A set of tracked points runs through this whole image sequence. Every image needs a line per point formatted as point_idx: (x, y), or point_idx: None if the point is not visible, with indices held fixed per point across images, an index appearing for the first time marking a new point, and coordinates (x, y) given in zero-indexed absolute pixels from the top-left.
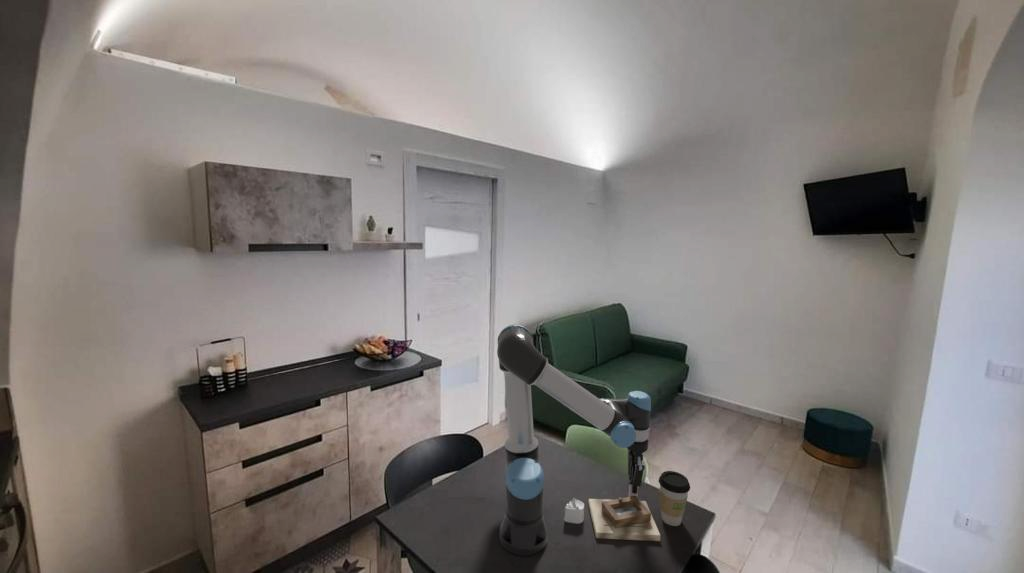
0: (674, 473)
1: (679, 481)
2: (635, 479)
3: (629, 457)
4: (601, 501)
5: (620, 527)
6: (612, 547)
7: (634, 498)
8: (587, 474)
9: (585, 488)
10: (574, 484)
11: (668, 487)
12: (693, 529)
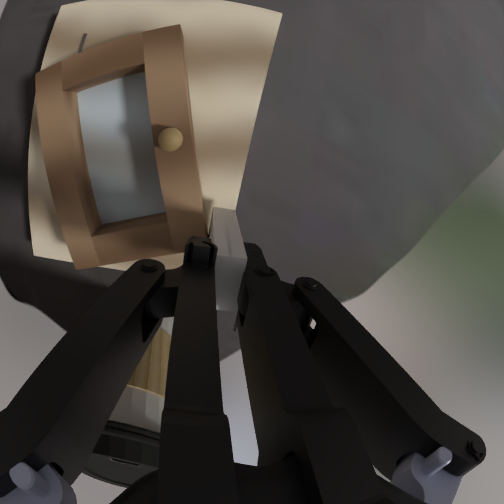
0: None
1: (112, 474)
2: (91, 316)
3: (343, 467)
4: (249, 60)
5: None
6: (26, 66)
7: (184, 233)
8: (440, 125)
9: (375, 63)
10: (400, 40)
11: None
12: None
